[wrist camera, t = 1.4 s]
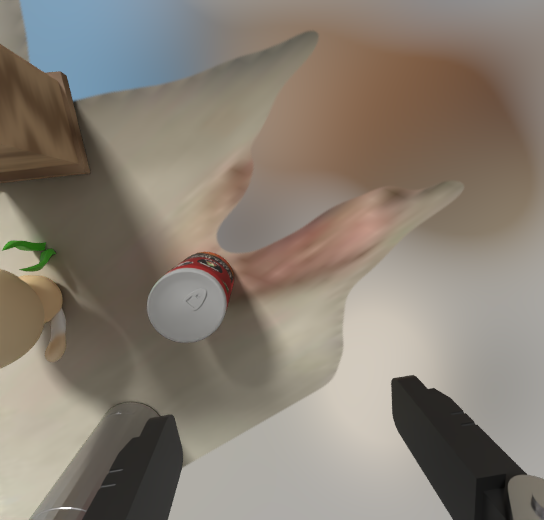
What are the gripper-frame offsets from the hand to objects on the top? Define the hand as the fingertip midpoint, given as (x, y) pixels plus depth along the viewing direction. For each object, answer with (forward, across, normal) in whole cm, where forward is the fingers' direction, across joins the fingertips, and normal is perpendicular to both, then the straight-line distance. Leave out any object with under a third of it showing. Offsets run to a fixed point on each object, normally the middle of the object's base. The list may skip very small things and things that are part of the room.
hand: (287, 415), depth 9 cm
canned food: (+28, -8, -2) cm, 29 cm away
